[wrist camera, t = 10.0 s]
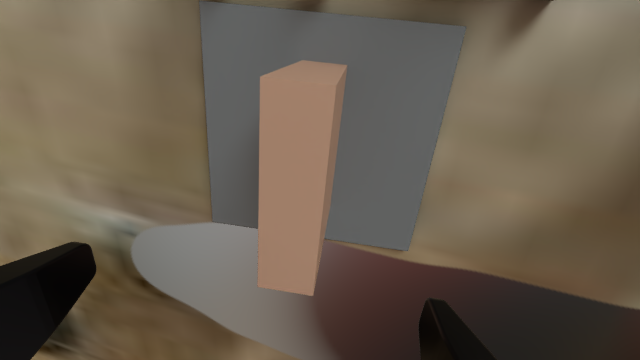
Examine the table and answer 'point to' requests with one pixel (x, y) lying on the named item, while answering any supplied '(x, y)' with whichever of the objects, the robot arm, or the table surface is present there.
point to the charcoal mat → (356, 119)
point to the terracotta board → (296, 170)
